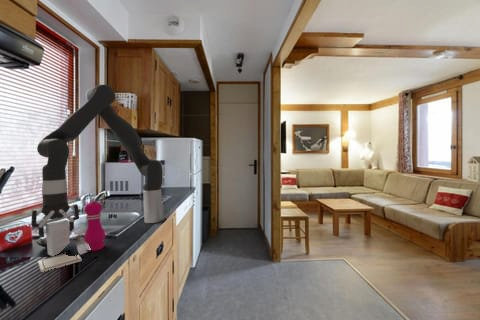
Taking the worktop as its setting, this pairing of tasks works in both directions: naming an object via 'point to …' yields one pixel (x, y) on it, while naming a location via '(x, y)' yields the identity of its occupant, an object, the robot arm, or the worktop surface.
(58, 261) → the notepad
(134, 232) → the worktop surface
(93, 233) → the pepper mill
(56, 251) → the skincare box
